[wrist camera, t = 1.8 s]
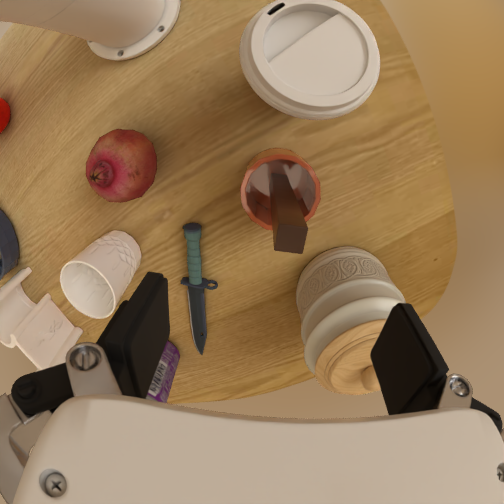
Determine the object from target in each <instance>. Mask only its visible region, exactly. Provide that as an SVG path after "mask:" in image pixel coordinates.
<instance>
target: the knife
mask: <svg viewBox="0 0 504 504" xmlns="http://www.w3.org/2000/svg"><path fill="white" fill-rule="evenodd" d="M183 229H184V237H185V239H186V240H187V254H188V255H187V261H188V262H187V264H188V273H189V278H188V277H183V278H182V280H181V284H183V285H187V286H188V290H187V293H188V302H189V311H190V320H191V328H192V335H193V340H194V344H195V346H196V348H197V351H198V352H199V353H200V354H201V355H202V354H203V350H204V346H205V341H206V336H207V331H206V317H205V302H204V288H207V289H210V290H213V289H216V288H217V287H218V283H217V282H216V281H213V280H210V281H208V280H207V279H205V278H202V276H201V256H200V248H199V246H200V245H199V240H200V238H201V225H200V224H198V223H188V224H186V225H184V226H183ZM210 283H213V284H215V286H213V287H210V286H208V284H210ZM202 332H203V335H201V333H202Z"/></svg>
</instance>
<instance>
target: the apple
mask: <svg viewBox="0 0 504 504" xmlns="http://www.w3.org/2000/svg"><path fill="white" fill-rule="evenodd" d="M9 119H10V107H9V105H8V103H7V102H6V101H4V100H3V99H2V98H0V134H1V132H2V131H3V130H4V129H5V127H6V125H7V124H8V122H9Z"/></svg>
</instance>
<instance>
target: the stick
mask: <svg viewBox="0 0 504 504" xmlns="http://www.w3.org/2000/svg"><path fill="white" fill-rule="evenodd" d="M269 192H270V203H271V215H272V228H273V240H274V250H275V251H283V252H290V253H298V254H302V253H303V249H304V245H305V240H306V236H307V231H308V227H307V224H306V222H305V219H304V216H303V214H302V211H301V209H300V206H299V204H298V201H297V199H296V196H295V194H294V191H293V189H292V186H291V184H290V181H289V179H288V177H287V175H283V174H276V173H271V178H270V185H269Z"/></svg>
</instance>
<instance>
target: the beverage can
mask: <svg viewBox="0 0 504 504" xmlns="http://www.w3.org/2000/svg"><path fill="white" fill-rule="evenodd" d="M179 358H180V354H179V351H178V350H177V348H176V347H175V346H174V345H173V344H172V343H170V342H169V341H167V343H166V346H165V348H164V351H163V353H162V356H161V359H160V361H159V364H158V367H157V369H156V372H155V375H154V377H153V380H152V383H151V386H150V388H149V391H148V394H147V397H146V399H147V400H153V401H158V402H163V403H167V399H168V396H169V392H170V389H171V385H172V382H173V379H174V375H175V372H176V368H177V365H178V362H179Z"/></svg>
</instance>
